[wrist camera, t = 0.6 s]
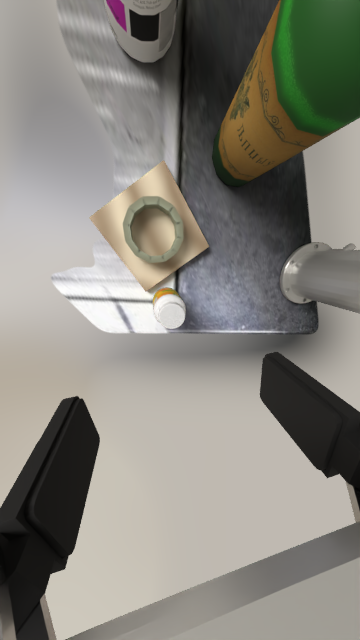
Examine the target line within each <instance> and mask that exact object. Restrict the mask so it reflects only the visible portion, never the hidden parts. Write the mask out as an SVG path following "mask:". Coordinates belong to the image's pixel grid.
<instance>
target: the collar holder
mask: <svg viewBox="0 0 360 640" xmlns="http://www.w3.org/2000/svg"><path fill="white" fill-rule="evenodd" d="M90 219H91V221H92V222H93V223H94V225H95V226H96V227H97V228H98V230H99V231H100V232H101V234H102V235H103V236H104V238H105V239H106V240H107V242H108V243H109V244H110V245H111V247H112V248H113V249H114V251H115V252H116V253H117V255H118V256H119V257H120V259H121V260H122V261H123V262H124V264H125V265H126V266H127V268H128V269H129V270H130V272H131V273H132V274H133V275H134V277H135V278H136V279H137V281H138V282H139V283H140V285H141V286H142V287H143V289H144V290H145V291H147V290H149V289H150V288H152V287H153V286H154V285H156V284H157V283H159V282H160V281H161V280H163V279H164V278H166V277H167V276H168V275H170V274H171V273H173V272H174V271H176V270H177V269H178V268H180V267H181V266H183V265H184V264H185V263H187V262H188V261H190V260H191V259H192V258H194V257H195V256H197V255H198V254H199V253H201V252H202V251H204V250H205V249H206V248H208V247H209V245H208V243H207V241H206V240H205V238H204V236H203V234H202V232H201V230H200V228H199V226H198V224H197V222H196V220H195V219H194V217H193V215H192V213H191V211H190V209H189V207H188V205H187V203H186V201H185V199H184V198H183V196H182V194H181V192H180V190H179V188H178V186H177V184H176V182H175V180H174V179H173V177H172V175H171V173H170V171H169V169H168V167H167V165H166V163H165V161H164V160H163V161H162V162H161V163H159V164H158V165H157V166H155V167H154V168H153V169H152V170H150V171H149V172H148V173H146V174H145V175H144V176H142V177H141V178H140V179H139V180H137V181H136V182H135V183H133V184H132V185H131V186H129V187H128V188H127V189H126V190H124V191H123V192H122V193H120V194H119V195H118V196H117V197H115V198H114V199H113V200H111V201H110V202H109V203H107V204H106V205H105V206H104V207H102V208H101V209H100V210H98V211H97V212H96V213H95V214H93V215H92V216H91V217H90Z"/></svg>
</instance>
